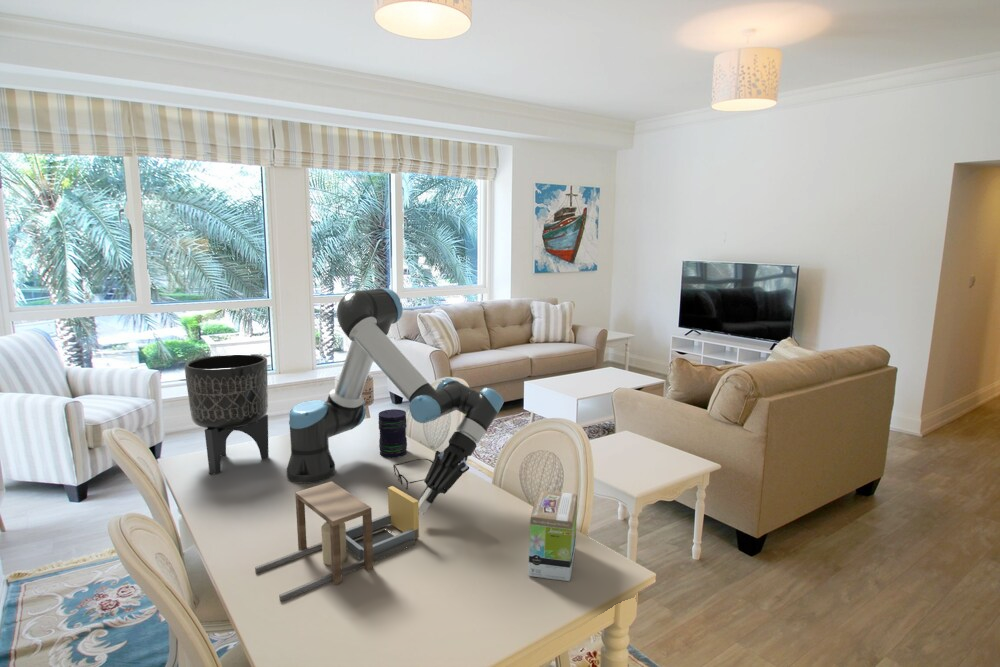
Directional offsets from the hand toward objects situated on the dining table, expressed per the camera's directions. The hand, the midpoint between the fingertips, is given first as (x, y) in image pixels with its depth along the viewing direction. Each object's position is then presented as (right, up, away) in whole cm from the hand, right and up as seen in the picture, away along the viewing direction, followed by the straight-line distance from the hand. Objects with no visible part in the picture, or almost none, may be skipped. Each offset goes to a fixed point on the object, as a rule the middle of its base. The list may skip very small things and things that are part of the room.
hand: (418, 511), depth 152 cm
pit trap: (-10, -5, -8) cm, 14 cm away
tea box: (+34, -7, -16) cm, 39 cm away
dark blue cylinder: (-17, +4, +53) cm, 55 cm away
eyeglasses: (-3, 0, +31) cm, 32 cm away
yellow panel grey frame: (-9, -5, -8) cm, 13 cm away
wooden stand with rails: (-18, -7, -16) cm, 25 cm away
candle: (-18, -7, -16) cm, 25 cm away
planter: (-70, +3, +44) cm, 83 cm away
